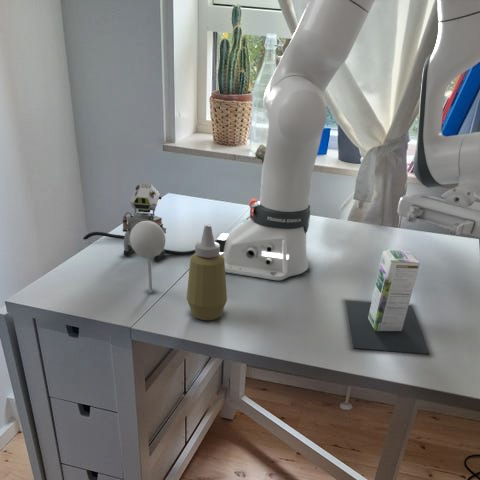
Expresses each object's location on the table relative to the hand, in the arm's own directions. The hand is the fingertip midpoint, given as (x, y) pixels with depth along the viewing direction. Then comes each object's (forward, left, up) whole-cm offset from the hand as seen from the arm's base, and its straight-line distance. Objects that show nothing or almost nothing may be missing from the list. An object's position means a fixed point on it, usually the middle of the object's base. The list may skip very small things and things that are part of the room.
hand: (431, 224), depth 111 cm
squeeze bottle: (-43, -11, -18) cm, 48 cm away
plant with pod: (-33, +47, -18) cm, 60 cm away
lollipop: (-56, -3, -18) cm, 59 cm away
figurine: (-61, +18, -18) cm, 66 cm away
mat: (-7, -10, -18) cm, 21 cm away
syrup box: (-7, -10, -18) cm, 21 cm away
